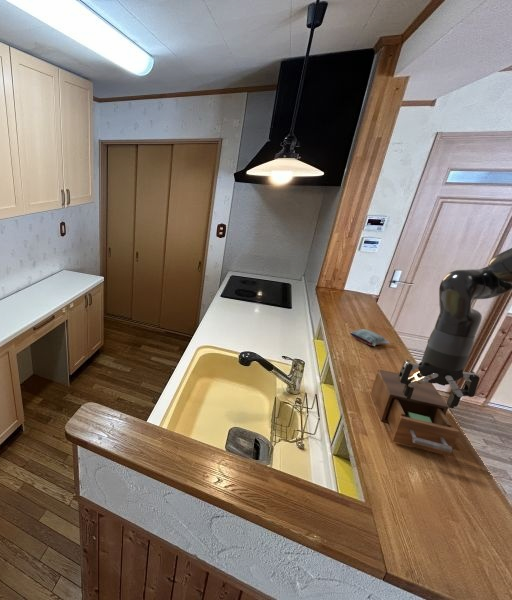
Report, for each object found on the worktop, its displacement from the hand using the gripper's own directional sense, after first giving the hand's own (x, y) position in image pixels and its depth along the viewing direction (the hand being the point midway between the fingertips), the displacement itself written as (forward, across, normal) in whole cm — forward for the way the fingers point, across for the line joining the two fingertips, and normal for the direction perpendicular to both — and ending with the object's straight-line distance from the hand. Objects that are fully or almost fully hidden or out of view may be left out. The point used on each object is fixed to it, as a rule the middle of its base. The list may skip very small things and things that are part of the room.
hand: (428, 401), depth 86 cm
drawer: (+11, -1, -1) cm, 11 cm away
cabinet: (+12, -1, +11) cm, 17 cm away
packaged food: (+12, -1, +63) cm, 64 cm away
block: (+10, 0, 0) cm, 10 cm away
